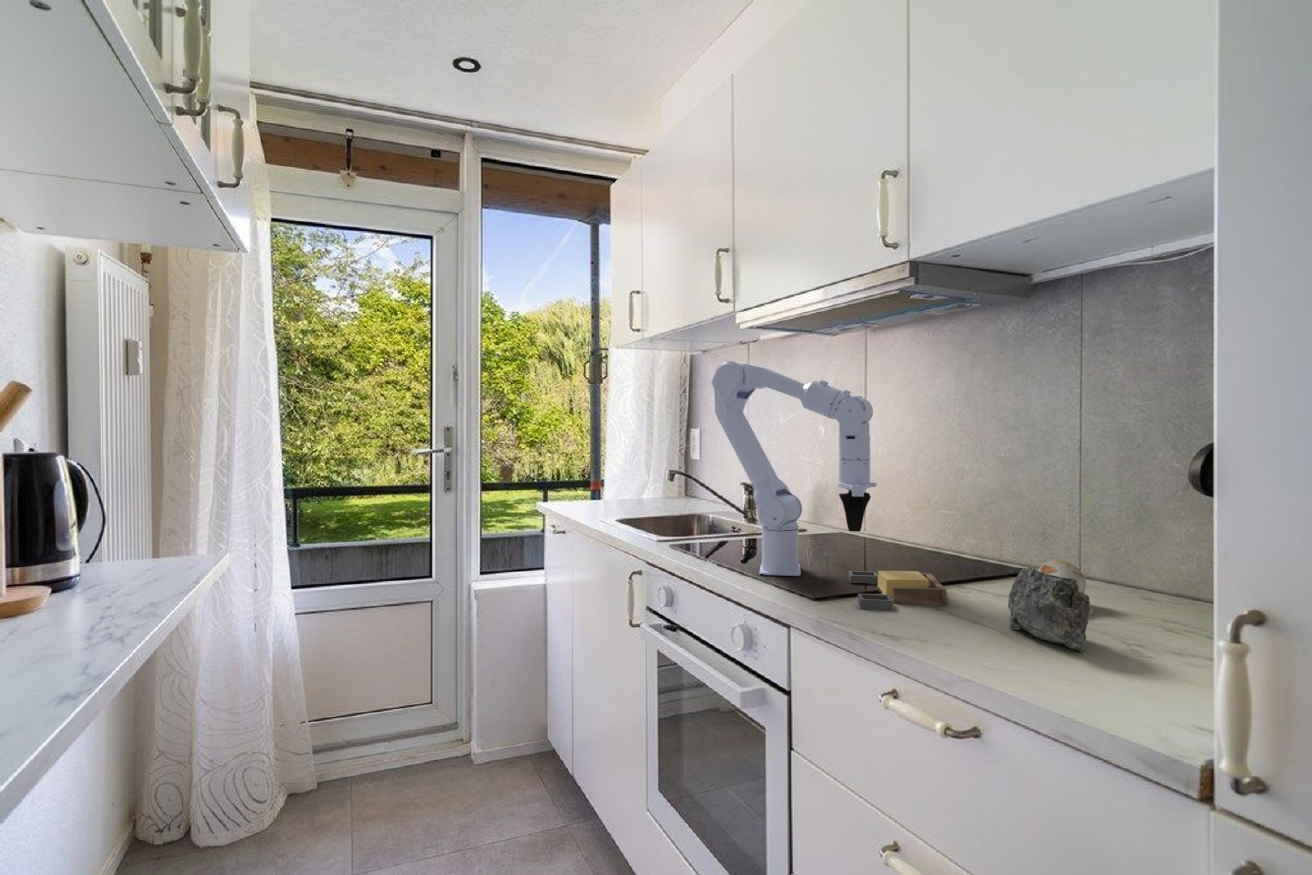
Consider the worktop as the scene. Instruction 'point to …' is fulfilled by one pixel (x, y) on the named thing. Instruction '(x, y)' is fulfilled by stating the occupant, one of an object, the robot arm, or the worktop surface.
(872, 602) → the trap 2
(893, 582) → the block
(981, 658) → the worktop surface
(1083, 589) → the cream rounded piece
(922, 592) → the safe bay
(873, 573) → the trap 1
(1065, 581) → the rock
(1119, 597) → the worktop surface
